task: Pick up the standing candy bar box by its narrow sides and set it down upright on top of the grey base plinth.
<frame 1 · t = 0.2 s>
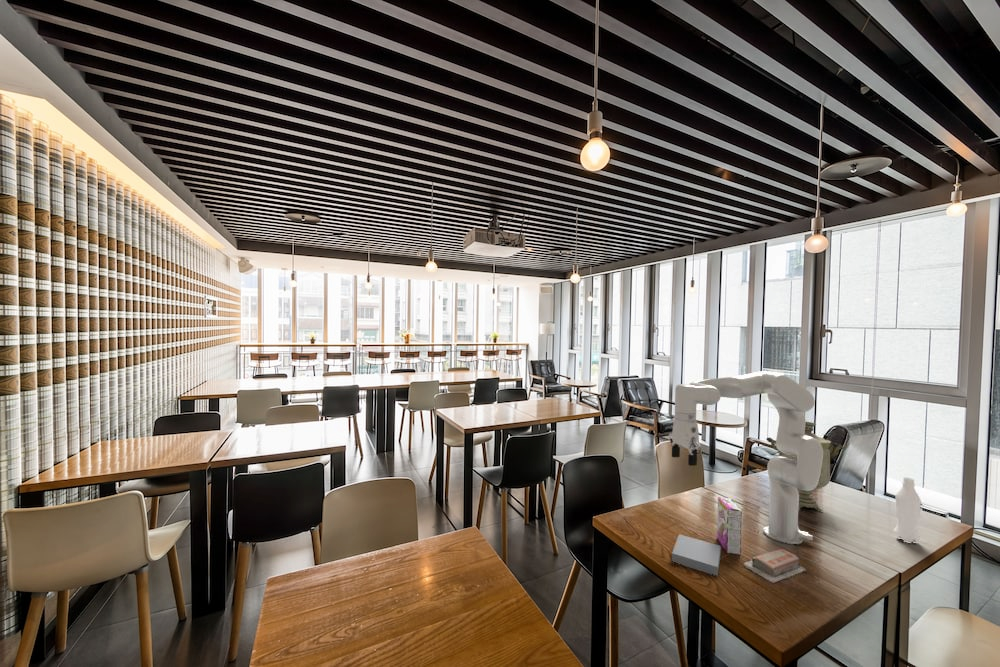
hand: (683, 461, 151), 31 cm above the table, tool pointing down, fingers open, 9 cm apart
candy bar box: (727, 546, 148), on the table
packaged product: (774, 570, 134), on the table
base plinth: (696, 557, 139), on the table
water bottle: (906, 541, 157), on the table
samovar: (802, 508, 185), on the table
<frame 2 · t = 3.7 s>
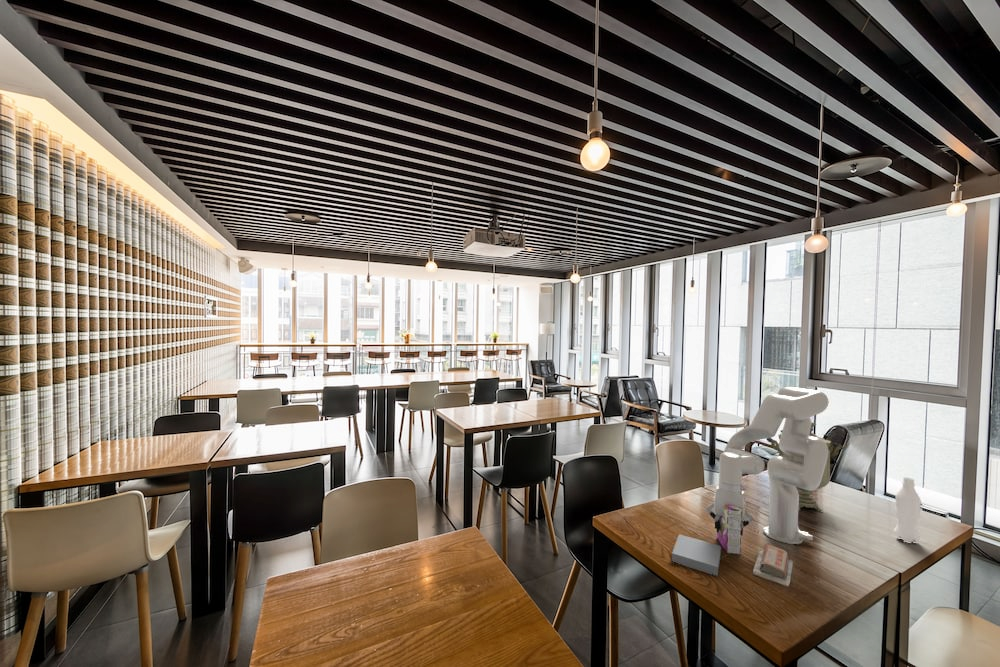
hand: (728, 533, 148), 5 cm above the table, tool pointing down, fingers closed on candy bar box, 6 cm apart
candy bar box: (727, 546, 148), on the table, touching gripper
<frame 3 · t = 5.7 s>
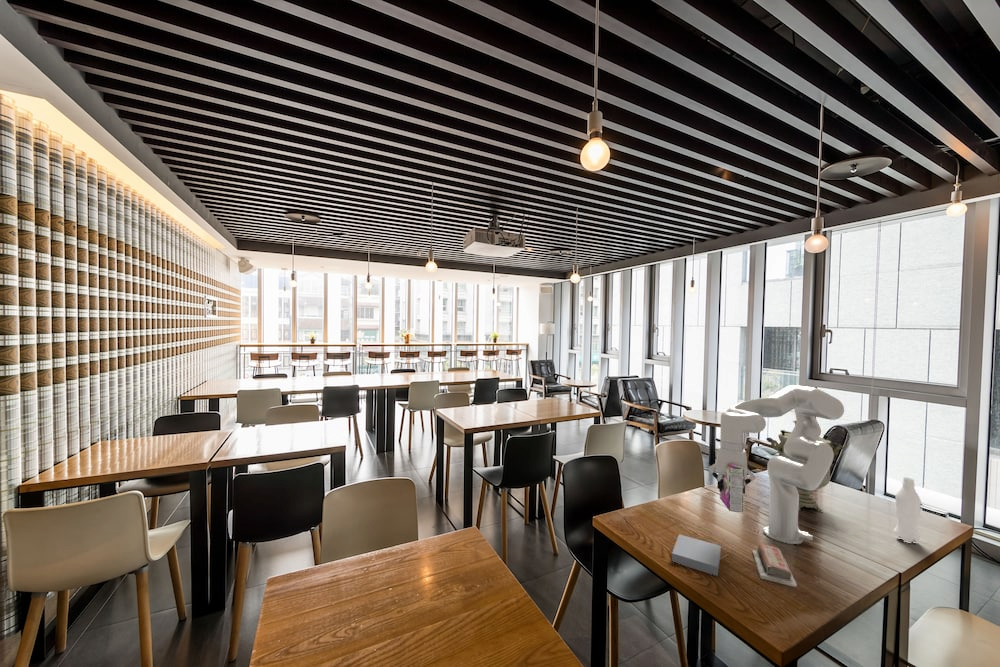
hand: (731, 492, 148), 20 cm above the table, tool pointing down, fingers closed on candy bar box, 6 cm apart
candy bar box: (730, 506, 148), point 15 cm above the table, touching gripper
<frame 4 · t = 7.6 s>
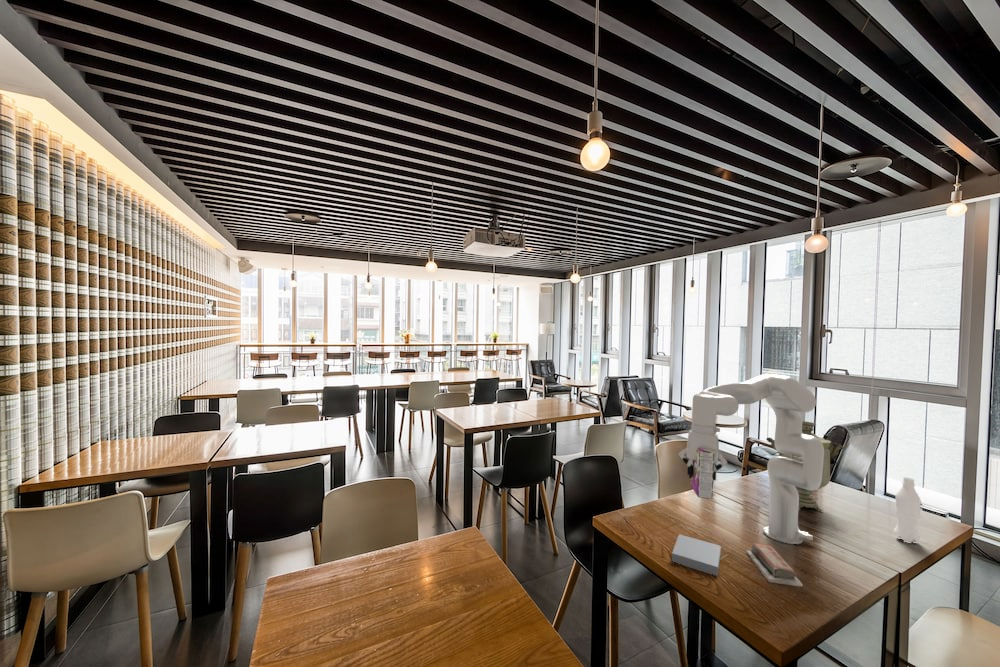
hand: (701, 478, 140), 28 cm above the table, tool pointing down, fingers closed on candy bar box, 6 cm apart
candy bar box: (700, 493, 140), point 23 cm above the table, touching gripper
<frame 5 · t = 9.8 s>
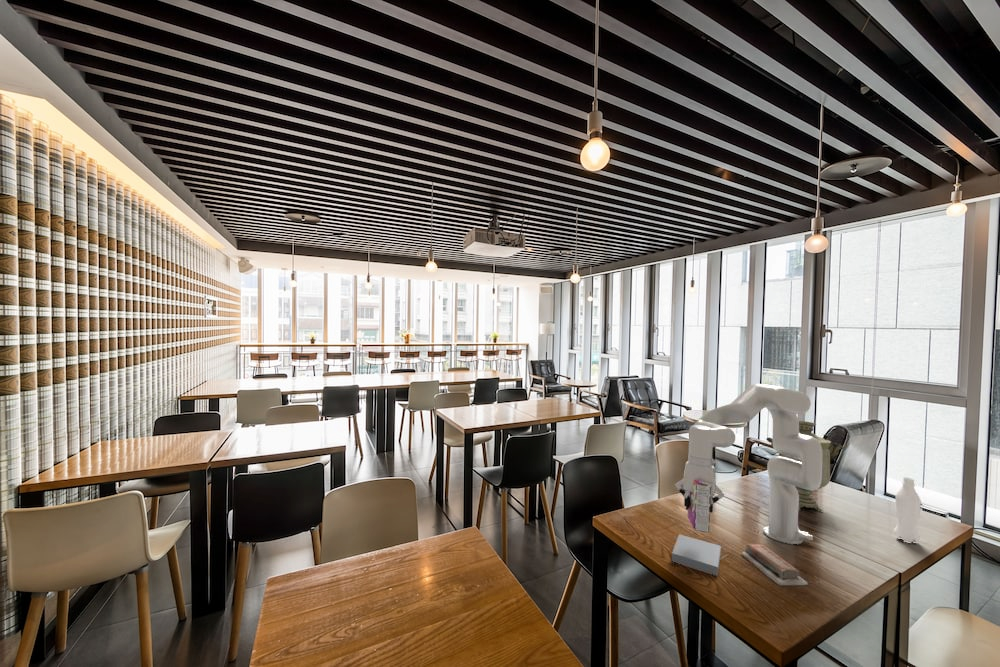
hand: (698, 510, 139), 17 cm above the table, tool pointing down, fingers closed on candy bar box, 6 cm apart
candy bar box: (697, 525, 139), point 12 cm above the table, touching gripper
when the fingers open (9 cm above the table, at t = 11.7 s): candy bar box drops 1 cm, resting on base plinth.
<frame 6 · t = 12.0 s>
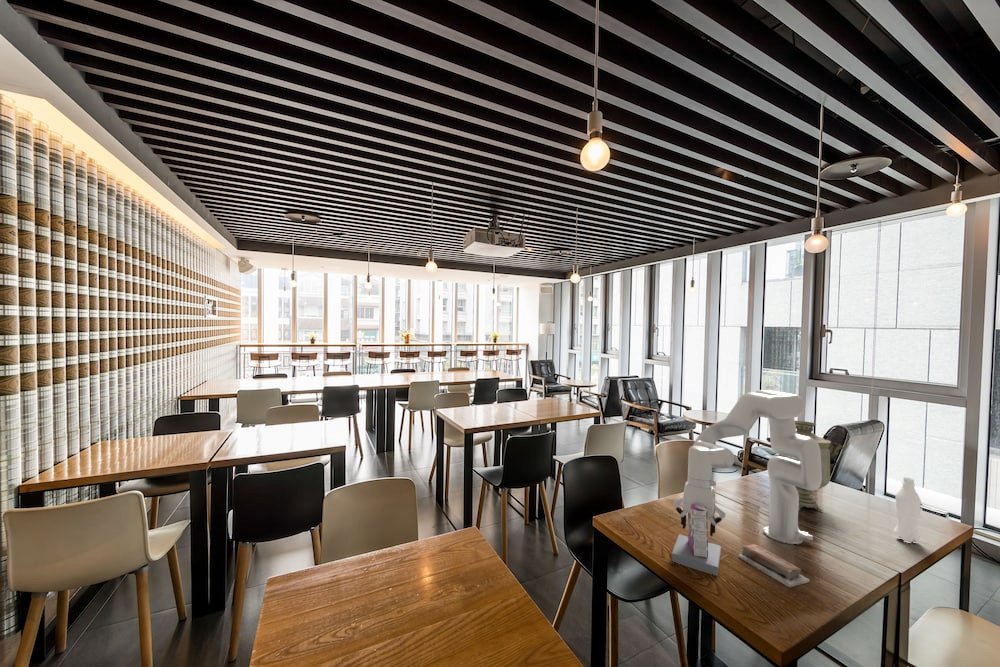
hand: (697, 530, 139), 10 cm above the table, tool pointing down, fingers open, 8 cm apart
candy bar box: (697, 549, 139), point 3 cm above the table, touching base plinth
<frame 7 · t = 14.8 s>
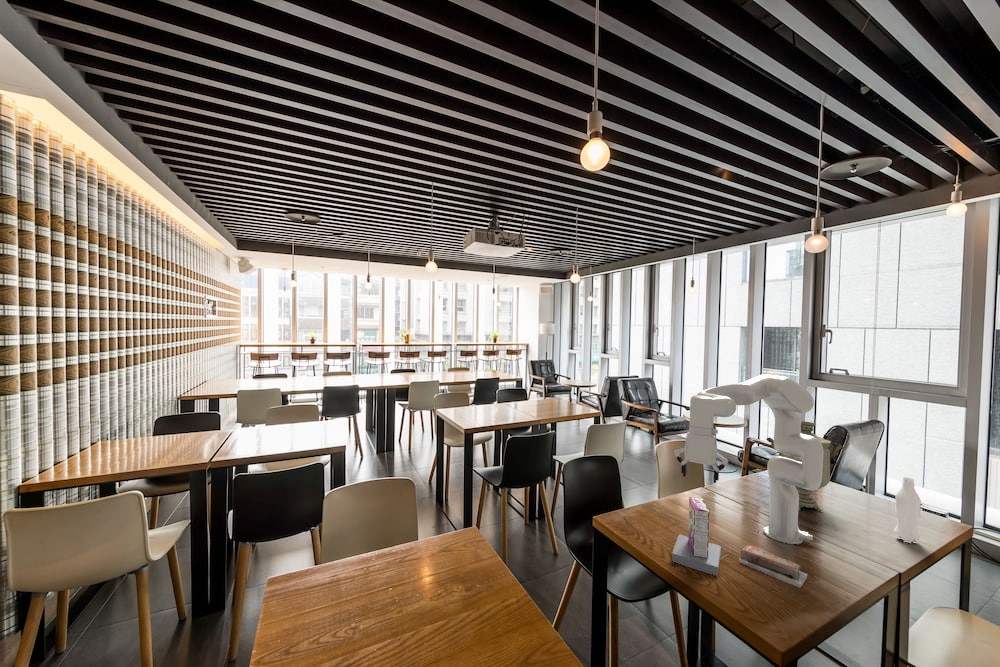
hand: (699, 478, 139), 28 cm above the table, tool pointing down, fingers open, 9 cm apart
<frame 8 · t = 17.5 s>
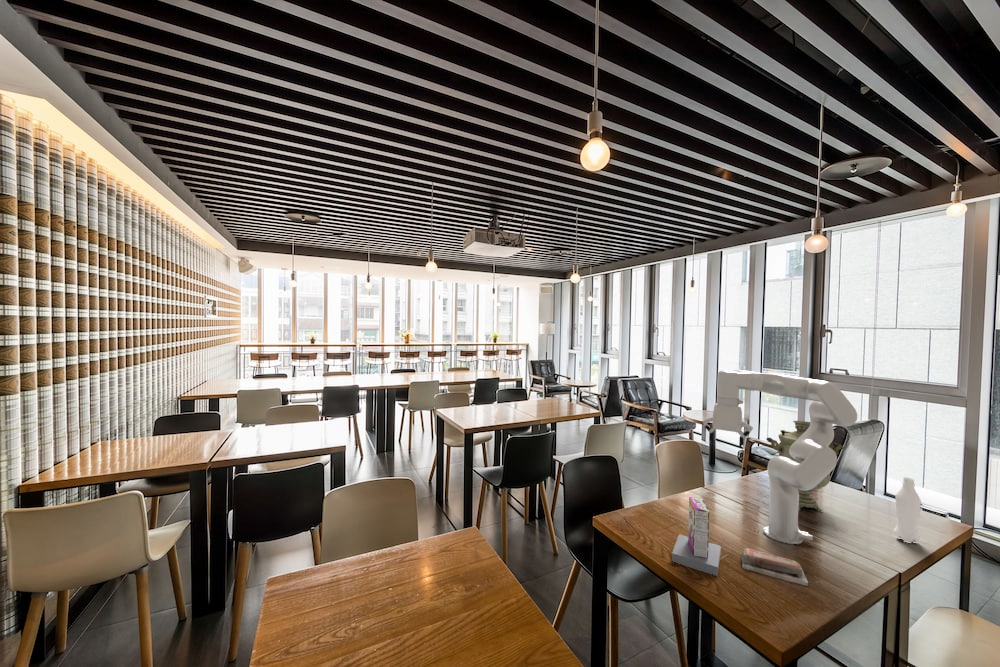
hand: (726, 444, 156), 36 cm above the table, tool pointing down, fingers open, 9 cm apart
at the end: candy bar box inside the target area on the base plinth (0.1 cm from its centre), point 2.8 cm above the base plinth's base; candy bar box tilted 0°; the gripper is holding nothing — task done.
